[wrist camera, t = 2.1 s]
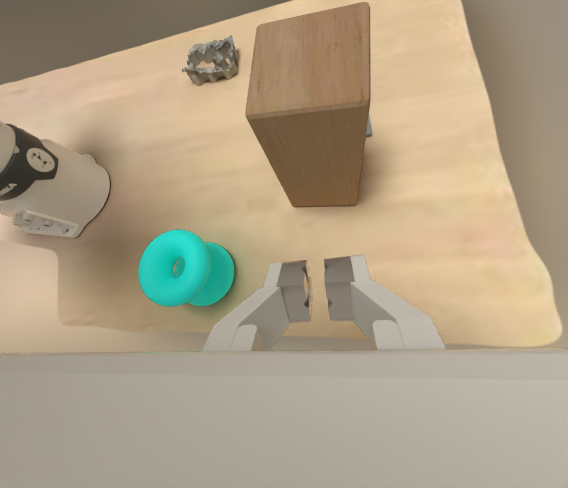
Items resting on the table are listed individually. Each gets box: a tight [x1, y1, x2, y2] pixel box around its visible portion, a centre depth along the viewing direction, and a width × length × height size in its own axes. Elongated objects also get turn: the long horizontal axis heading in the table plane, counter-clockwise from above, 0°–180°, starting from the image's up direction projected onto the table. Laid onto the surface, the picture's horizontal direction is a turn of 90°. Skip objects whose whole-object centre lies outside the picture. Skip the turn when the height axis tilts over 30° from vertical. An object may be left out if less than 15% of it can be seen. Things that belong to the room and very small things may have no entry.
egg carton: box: [182, 35, 239, 86], centre depth 48 cm, size 11×8×4 cm
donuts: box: [138, 230, 234, 306], centre depth 35 cm, size 10×10×10 cm
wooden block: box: [246, 2, 370, 206], centre depth 29 cm, size 10×10×20 cm
